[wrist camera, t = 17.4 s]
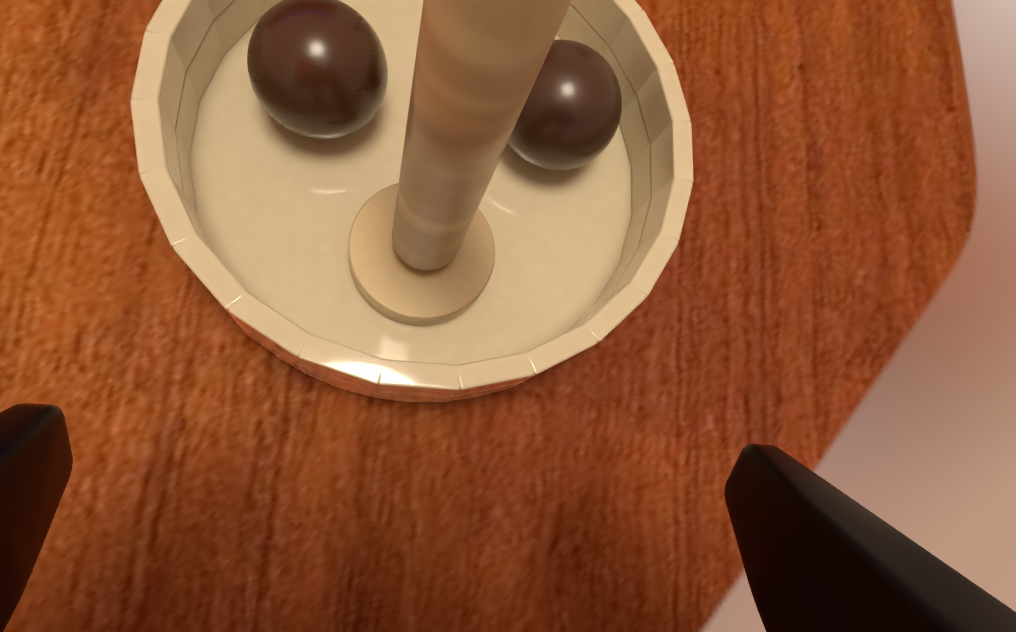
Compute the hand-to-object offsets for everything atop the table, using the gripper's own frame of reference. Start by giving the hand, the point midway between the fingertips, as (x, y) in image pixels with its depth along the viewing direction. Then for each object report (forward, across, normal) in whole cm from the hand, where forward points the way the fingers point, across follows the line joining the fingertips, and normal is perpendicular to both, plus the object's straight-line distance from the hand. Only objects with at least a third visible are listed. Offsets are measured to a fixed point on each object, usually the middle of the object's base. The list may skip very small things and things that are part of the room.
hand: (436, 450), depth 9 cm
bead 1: (+12, +3, -2) cm, 13 cm away
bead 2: (+12, -4, -2) cm, 13 cm away
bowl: (+13, 0, 0) cm, 13 cm away
